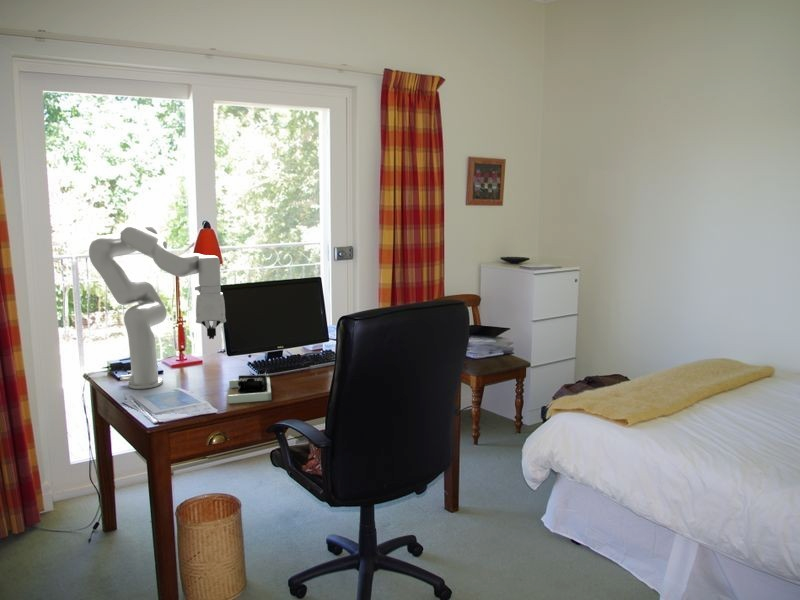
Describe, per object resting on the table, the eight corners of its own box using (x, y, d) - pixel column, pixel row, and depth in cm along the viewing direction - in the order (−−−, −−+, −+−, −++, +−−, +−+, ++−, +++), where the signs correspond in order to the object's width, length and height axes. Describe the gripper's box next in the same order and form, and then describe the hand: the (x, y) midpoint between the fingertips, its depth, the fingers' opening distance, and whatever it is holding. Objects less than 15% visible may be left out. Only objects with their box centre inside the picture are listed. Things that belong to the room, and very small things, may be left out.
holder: (228, 403, 234) (227, 396, 233) (229, 386, 252) (229, 380, 251) (271, 400, 237) (271, 392, 237) (269, 383, 255) (269, 377, 254)
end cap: (267, 389, 249) (266, 372, 247) (264, 396, 242) (263, 378, 240) (240, 390, 248) (239, 373, 247) (237, 396, 241) (236, 379, 240)
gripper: (187, 291, 233) (189, 341, 237) (230, 291, 236) (231, 340, 240) (189, 287, 241) (191, 335, 244) (231, 287, 243) (233, 334, 247)
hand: (211, 337), depth 242 cm, fingers closed
